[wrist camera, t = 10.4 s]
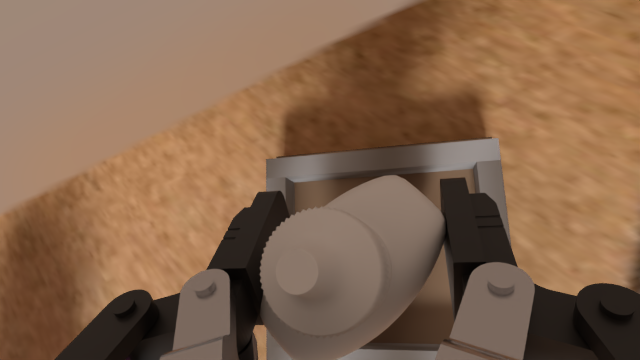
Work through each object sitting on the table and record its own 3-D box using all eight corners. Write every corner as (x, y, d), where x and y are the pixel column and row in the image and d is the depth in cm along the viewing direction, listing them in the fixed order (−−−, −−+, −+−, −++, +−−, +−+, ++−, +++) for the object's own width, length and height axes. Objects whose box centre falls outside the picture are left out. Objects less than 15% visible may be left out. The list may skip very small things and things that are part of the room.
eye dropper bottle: (306, 236, 19) (122, 192, 7) (425, 200, 18) (429, 84, 6) (331, 334, 18) (160, 463, 6) (460, 301, 17) (542, 381, 5)
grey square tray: (285, 367, 21) (266, 381, 19) (283, 161, 23) (266, 149, 21) (514, 374, 19) (528, 393, 16) (487, 143, 21) (496, 127, 18)
